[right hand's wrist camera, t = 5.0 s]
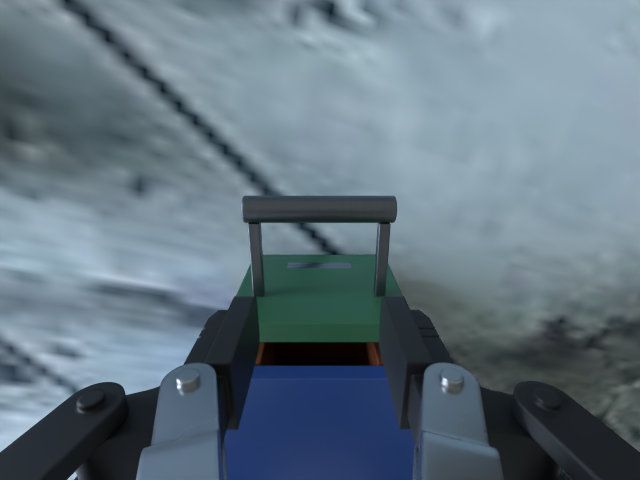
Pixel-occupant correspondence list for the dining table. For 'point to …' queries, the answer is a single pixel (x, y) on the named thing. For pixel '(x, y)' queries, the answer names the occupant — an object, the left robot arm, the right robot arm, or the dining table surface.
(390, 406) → the cabinet
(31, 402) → the dining table surface
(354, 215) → the drawer
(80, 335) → the dining table surface
